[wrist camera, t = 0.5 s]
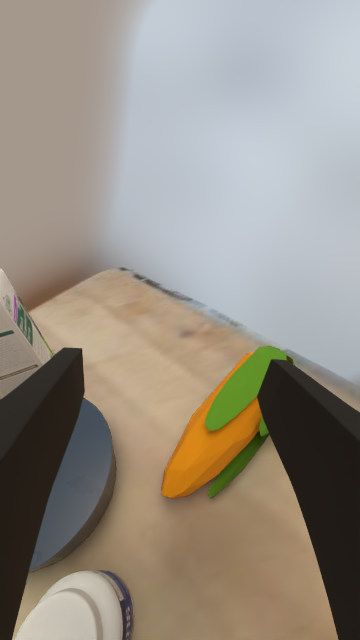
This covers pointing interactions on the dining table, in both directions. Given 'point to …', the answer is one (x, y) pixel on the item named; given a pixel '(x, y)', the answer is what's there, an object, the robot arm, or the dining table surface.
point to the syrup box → (18, 340)
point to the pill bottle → (82, 610)
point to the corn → (222, 430)
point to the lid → (76, 485)
